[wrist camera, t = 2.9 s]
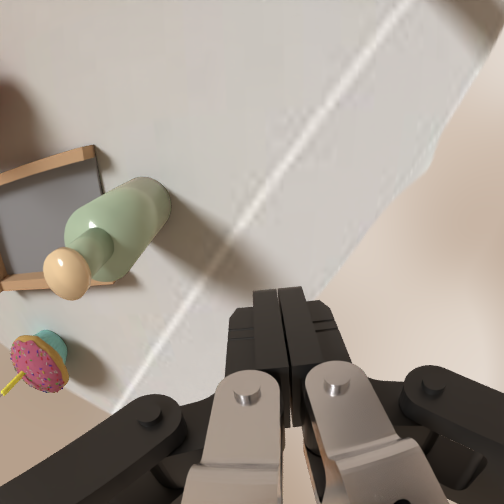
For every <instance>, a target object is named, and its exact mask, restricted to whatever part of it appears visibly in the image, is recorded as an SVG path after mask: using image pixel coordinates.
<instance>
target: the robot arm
mask: <svg viewBox="0 0 504 504" xmlns="http://www.w3.org/2000/svg"><path fill="white" fill-rule="evenodd" d="M278 302H279V303H278ZM290 409H291V415H292V424H293V427H299V426H302V431H303V437H304V441H303V450H304V455H305V459H306V463H307V467H308V471H309V475H310V479H311V483H312V487H313V491H314V495H315V499H316V503H317V504H449V502H448V500H447V499H449V500H451V501H453V502H456V503H457V504H504V393H501V392H499V391H497V390H494V389H492V388H490V387H487V386H485V385H483V384H480V383H478V382H476V381H473V380H471V379H468V378H466V377H464V376H461V375H459V374H456V373H454V372H452V371H450V370H447V369H445V368H442V367H439V366H433V365H426V366H421V367H418V368H415V369H414V370H412V371H411V372H410V373H409V374H408V375H407V376H406V378H405V381H404V382H396V381H380V380H374V379H371V378H368V377H367V376H366V374H365V372H364V371H363V370H362V369H361V368H359V367H358V366H356V365H354V364H352V362H351V359H350V357H349V354H348V352H347V349H346V347H345V344H344V342H343V339H342V337H341V334H340V332H339V330H338V327H337V324H336V322H335V321H334V317H333V314H332V312H331V310H330V308H329V307H328V306H326V305H325V304H324V303H323V302H321V301H320V300H316V301H307V302H306V299H305V296H304V293H303V290H302V287H301V286H299V287H289V288H279V289H278V297H277V291H276V289H269V290H259V291H253V307H246V308H237V309H236V310H235V312H234V313H233V314H232V316H231V317H230V318H229V332H228V342H227V355H226V368H225V378H224V379H223V380H222V381H221V382H220V383H219V384H218V386H217V388H216V391H215V393H214V394H213V395H211V396H210V397H208V398H206V399H204V400H201V401H198V402H194V403H191V404H187V405H183V406H179V405H178V403H177V402H176V401H175V400H173V399H172V398H170V397H168V396H165V395H160V394H150V395H145V396H142V397H139V398H137V399H135V400H133V401H132V402H130V403H129V404H127V405H126V406H125V407H123V408H122V409H120V410H119V411H117V412H116V413H114V414H113V415H112V416H110V417H109V418H107V419H106V420H104V421H103V422H101V423H100V424H98V425H97V426H96V427H94V428H92V429H91V430H90V431H88V432H87V433H85V434H84V435H82V436H81V437H79V438H78V439H76V440H75V441H73V442H71V443H70V444H69V445H67V446H65V447H64V448H63V449H61V450H59V451H58V452H56V453H54V454H53V455H51V456H50V457H49V458H47V459H45V460H44V461H42V462H40V463H39V464H37V465H35V466H34V467H32V468H31V469H29V470H27V471H26V472H24V473H22V474H21V475H19V476H18V477H16V478H14V479H12V480H11V481H9V482H7V483H6V484H4V485H2V486H1V487H0V504H283V451H284V448H285V428H290ZM450 439H451V440H450ZM452 440H453V441H452ZM454 441H455V442H454ZM469 448H470V449H469Z"/></svg>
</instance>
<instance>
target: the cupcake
mask: <svg viewBox="0 0 504 504" xmlns="http://www.w3.org/2000/svg"><path fill="white" fill-rule="evenodd" d="M10 352H11V358H10V359H11V360H12V363H13V365H14V368H15V370H16V371H17V373H18V375H17V376H16V377H15V378H14V379H13V380H12V381H11V382H10V383H9V384H8V385H7V386H6V387H5V388H4V389H3V390H2V391H1V394H0V397H1V396H2V395H3V396H5V395H6V394H7V393H8V392H9V391H10V390H11V389H12V388H13V387H14V385H15V384H16V383H17V382H18V381H19V380H20V379H21V378H22V379H23V381H25V382H26V384H28V385H29V386H31V387H33V388H35V389H37V390H40V391H43V392H46V393H49V392H53V393H55V392H58V391H59V390H61V389H63V387H64V386H65V385H66V384H67V382H68V380H69V374H68V371H67V368H66V366H65V361H66V356H67V347H66V345H65V343H64V342H63V340H62V339H61V338H60V337H59V336H58V335H57V334H55V333H53V332H51V331H48V330H43V331H41V332H39V333H37V334H35V335H33V336H29V335H23V336H20V337H18V338H17V339H16V340H15V341H14V343H13V345H12V348H11V350H10Z"/></svg>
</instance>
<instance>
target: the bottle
mask: <svg viewBox="0 0 504 504" xmlns="http://www.w3.org/2000/svg"><path fill="white" fill-rule="evenodd" d="M170 212H171V201H170V197H169V194H168V192H167V191H166V189H165V188H164V187H163V186H162V185H161V184H160V183H159V182H158V181H156V180H154V179H152V178H148V177H137V178H134V179H131V180H129V181H127V182H126V183H124V184H122V185H120V186H118V187H116V188H114V189H112V190H111V191H109V192H107V193H105V194H103V195H101V196H100V197H98V198H96V199H94V200H93V201H91V202H89V203H87V204H86V205H84V206H82V207H80V208H79V209H77V210H76V211H75V212H74V213H73V214H72V215H71V216H70V218H69V219H68V221H67V224H66V227H65V233H64V241H65V247H60V248H57V249H55V250H54V251H53V252H51V253H50V254H49V255H48V256H47V257H46V259H45V261H44V265H43V273H44V277H45V280H46V282H47V284H48V286H49V287H50V288H51V290H52V291H53V292H54V293H55V294H56V295H58V296H59V297H61V298H63V299H66V300H77V299H79V298H81V297H82V296H83V295H84V294H85V292H86V291H87V290H88V289H89V287H90V285H91V279H93V280H96V281H100V282H112V281H116V280H118V279H120V278H122V277H123V276H125V275H126V274H127V273H128V271H129V270H130V269H131V267H132V266H133V265H134V263H135V262H136V261H137V259H138V258H139V257H140V255H141V254H142V253H143V252H144V250H145V249H146V248H147V246H148V245H149V244H150V242H151V241H152V240H153V239H154V237H155V236H156V235H157V233H158V232H159V231H160V230H161V228H162V227H163V226H164V225H165V223H166V222H167V220H168V218H169V216H170Z"/></svg>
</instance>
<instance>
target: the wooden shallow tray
mask: <svg viewBox="0 0 504 504" xmlns="http://www.w3.org/2000/svg"><path fill="white" fill-rule="evenodd" d="M101 195H103V194H102V189H101V184H100V178H99V173H98V167H97V161H96V155H95V149H94V145H89V146H84V147H80V148H76V149H73V150H69V151H66V152H63V153H59V154H56V155H53V156H50V157H46V158H43V159H40V160H37V161H34V162H31V163H28V164H25V165H22V166H20V167H17V168H14V169H11V170H9V171H6V172H3V173H1V174H0V293H1V292H2V291H12V290H31V289H48V288H50V287H49V286H48V284H47V282H46V280H45V277H44V273H43V265H44V261H45V259H46V257H47V256H48V255H49V254H50V253H51V252H53V251H54V250H55V249H57V248H60V247H65V241H64V233H65V227H66V224H67V221H68V219H69V218H70V216H71V215H72V214H73V213H74V212H75V211H76V210H77V209H79V208H80V207H82V206H84V205H86V204H87V203H89V202H91V201H93V200H94V199H96V198H98V197H100V196H101ZM114 282H115V281H112V282H100V281H96V280H93V279H91V285H90V286H94V285H108V284H114Z"/></svg>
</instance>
